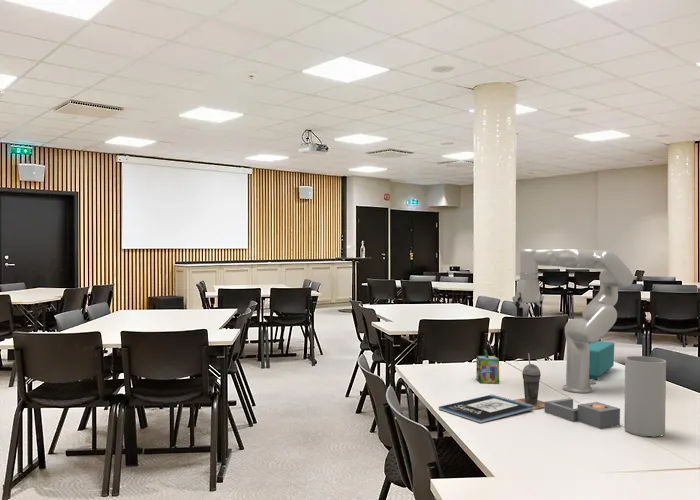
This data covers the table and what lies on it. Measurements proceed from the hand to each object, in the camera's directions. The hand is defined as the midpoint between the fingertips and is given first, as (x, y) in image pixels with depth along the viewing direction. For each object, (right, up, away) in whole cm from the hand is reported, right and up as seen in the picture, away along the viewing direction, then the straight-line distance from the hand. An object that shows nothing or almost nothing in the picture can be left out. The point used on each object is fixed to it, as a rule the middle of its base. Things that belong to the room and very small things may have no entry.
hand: (528, 316), depth 256 cm
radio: (+46, -34, +39) cm, 69 cm away
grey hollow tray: (+8, -33, -40) cm, 52 cm away
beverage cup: (-5, -33, -20) cm, 39 cm away
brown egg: (+11, -31, -46) cm, 56 cm away
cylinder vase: (+23, -34, -55) cm, 69 cm away
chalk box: (-13, -33, +21) cm, 41 cm away
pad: (-6, -33, -21) cm, 40 cm away
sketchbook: (-25, -33, -31) cm, 52 cm away
